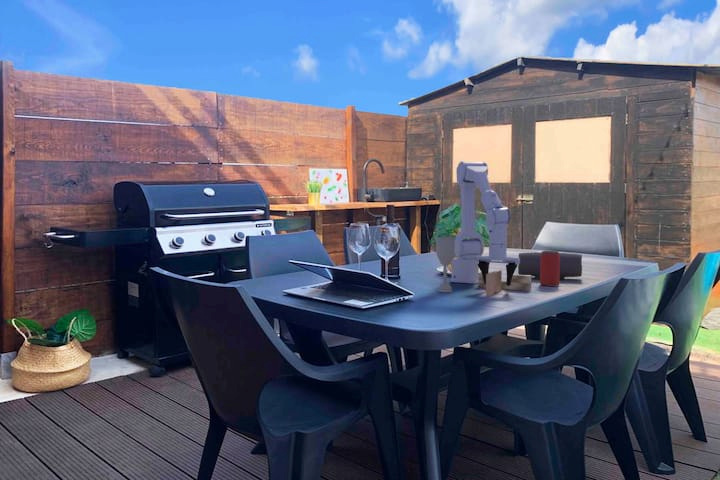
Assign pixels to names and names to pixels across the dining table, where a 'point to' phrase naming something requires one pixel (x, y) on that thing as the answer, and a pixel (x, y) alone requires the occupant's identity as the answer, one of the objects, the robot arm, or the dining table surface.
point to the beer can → (549, 268)
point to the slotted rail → (516, 283)
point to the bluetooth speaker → (568, 265)
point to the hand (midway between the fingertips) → (497, 284)
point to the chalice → (445, 258)
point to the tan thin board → (493, 282)
